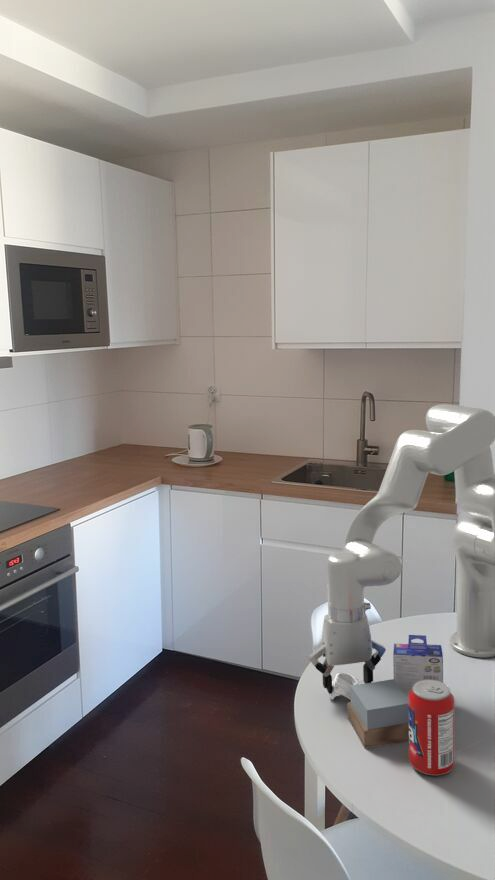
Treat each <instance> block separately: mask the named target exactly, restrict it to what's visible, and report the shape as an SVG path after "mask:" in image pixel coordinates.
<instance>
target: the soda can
mask: <svg viewBox="0 0 495 880" xmlns="http://www.w3.org/2000/svg"><path fill="white" fill-rule="evenodd" d="M408 715H409V741H408V759H409V763H410V765H411V766H412V767H413V768H414V769H415V770H416V771H418V772H420V773H422V774H424V775H428V776H442V775H445V774H447V773H449V772H451V771H452V770H453V768H454V767H455V698H454V695H453V694H452V692H451V689H450V687H449V686H448V684H446V683H445V682H444V681H443V682H440V681H437V680H431V679H425V680H420V681H417V682H416V683H414V684H413V686H412V690H411V691H410V692H409V696H408Z"/></svg>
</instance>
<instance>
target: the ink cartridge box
mask: <svg viewBox="0 0 495 880" xmlns="http://www.w3.org/2000/svg"><path fill="white" fill-rule="evenodd" d="M417 639H418V640H421V641H423V642H412V641H413V640H417ZM392 655H393V656H392V658H393V660H392V661H393V662H392V663H393V679H394V681H395V682H396V683H397V684H398V686H399V687H400V688H401V689H402V691H403V692H404V693H405V694H406V696H407V697H408V696H409V692H410V691H411V690H412V686H413V684H414V683H416V682H417V681H420V680H425V679H431V680H437V681H440V682H443V683H444V658H443V657H444V655H443V648H442V645H441V644H427V635H421V634H419V635H418V634H408V643H394V644H393V653H392Z"/></svg>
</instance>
